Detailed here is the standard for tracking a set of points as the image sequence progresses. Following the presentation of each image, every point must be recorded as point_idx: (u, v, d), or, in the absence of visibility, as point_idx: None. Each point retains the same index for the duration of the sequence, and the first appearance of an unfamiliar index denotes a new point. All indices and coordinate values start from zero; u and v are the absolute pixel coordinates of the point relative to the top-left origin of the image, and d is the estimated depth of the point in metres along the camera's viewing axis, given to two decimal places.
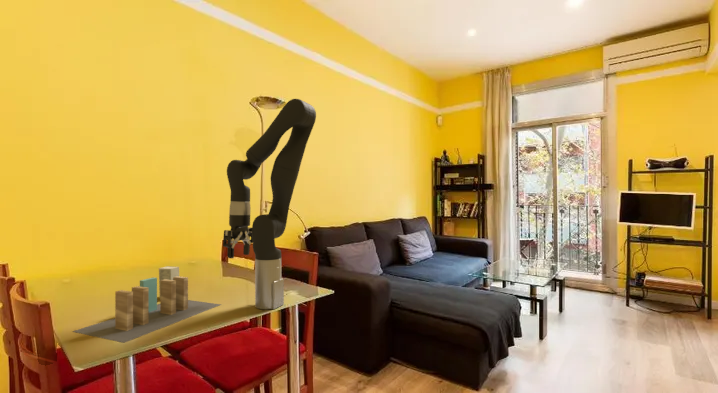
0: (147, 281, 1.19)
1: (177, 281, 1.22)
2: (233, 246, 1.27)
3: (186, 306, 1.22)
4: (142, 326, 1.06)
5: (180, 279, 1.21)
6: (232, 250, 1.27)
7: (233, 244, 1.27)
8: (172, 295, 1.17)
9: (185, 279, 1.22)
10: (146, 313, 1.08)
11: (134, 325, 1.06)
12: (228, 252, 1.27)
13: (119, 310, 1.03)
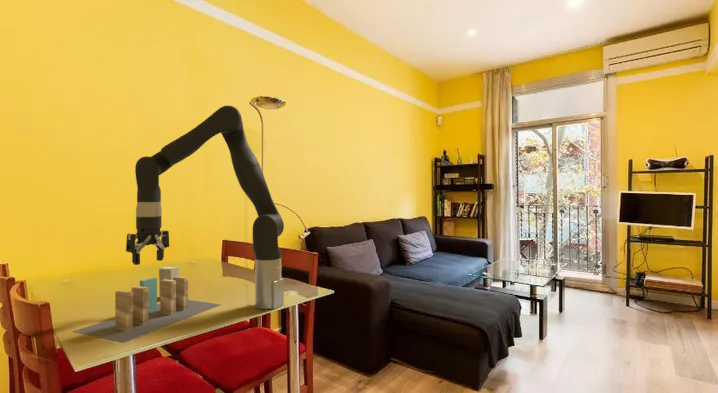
0: (147, 281, 1.19)
1: (177, 281, 1.22)
2: (138, 251, 1.15)
3: (186, 306, 1.22)
4: (142, 326, 1.06)
5: (180, 279, 1.21)
6: (137, 256, 1.15)
7: (138, 249, 1.16)
8: (172, 295, 1.17)
9: (185, 279, 1.22)
10: (146, 313, 1.08)
11: (134, 325, 1.06)
12: (133, 258, 1.15)
13: (119, 310, 1.03)
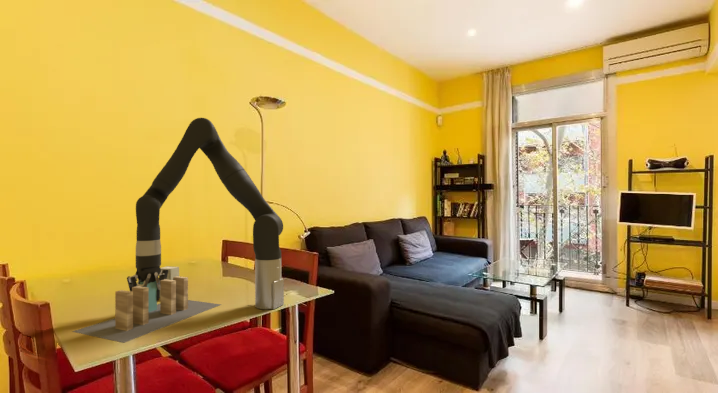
0: None
1: (177, 281, 1.22)
2: None
3: (186, 306, 1.22)
4: (142, 326, 1.06)
5: (180, 279, 1.21)
6: None
7: None
8: (172, 295, 1.17)
9: (185, 279, 1.22)
10: (146, 313, 1.08)
11: (134, 325, 1.06)
12: None
13: (119, 310, 1.03)
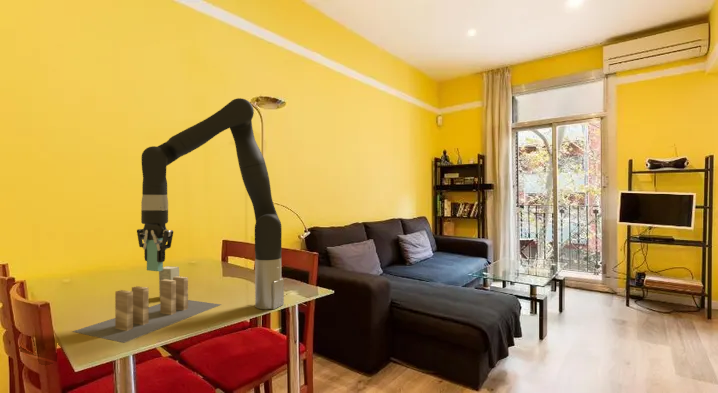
0: None
1: (177, 281, 1.22)
2: (144, 247, 1.13)
3: (186, 306, 1.22)
4: (142, 326, 1.06)
5: (180, 279, 1.21)
6: (145, 252, 1.14)
7: (144, 245, 1.13)
8: (172, 295, 1.17)
9: (185, 279, 1.22)
10: (146, 313, 1.08)
11: (134, 325, 1.06)
12: None
13: (119, 310, 1.03)
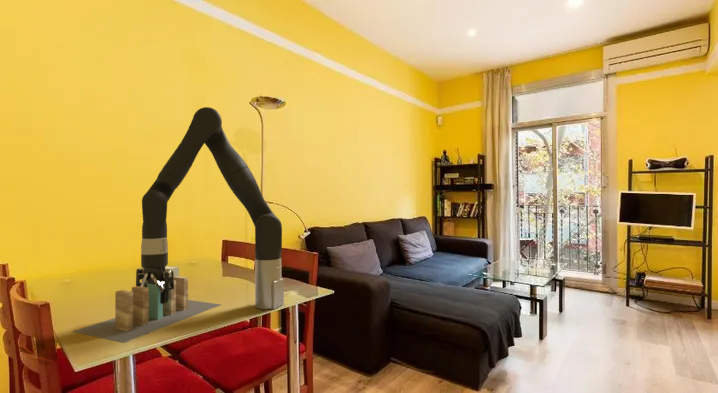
0: (149, 285, 1.13)
1: (177, 281, 1.22)
2: None
3: (186, 306, 1.22)
4: (142, 326, 1.06)
5: (180, 279, 1.21)
6: None
7: (141, 285, 1.14)
8: (172, 295, 1.17)
9: (185, 279, 1.22)
10: (146, 313, 1.08)
11: (134, 325, 1.06)
12: None
13: (119, 310, 1.03)
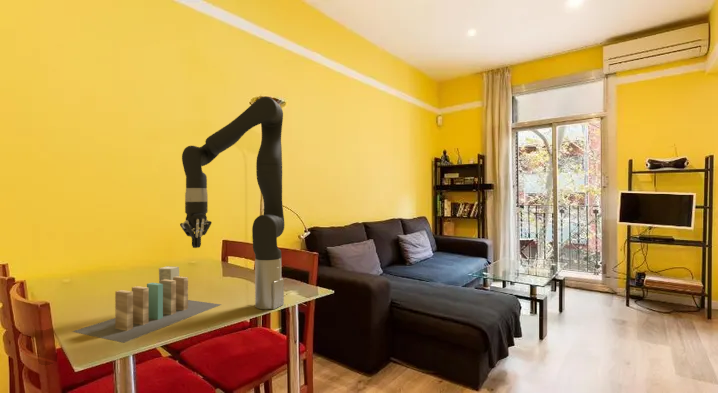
0: (149, 285, 1.13)
1: (177, 281, 1.22)
2: (197, 235, 1.28)
3: (186, 306, 1.22)
4: (142, 326, 1.06)
5: (180, 279, 1.21)
6: (196, 239, 1.28)
7: (196, 234, 1.28)
8: (172, 295, 1.17)
9: (185, 279, 1.22)
10: (146, 313, 1.08)
11: (134, 325, 1.06)
12: (192, 242, 1.28)
13: (119, 310, 1.03)
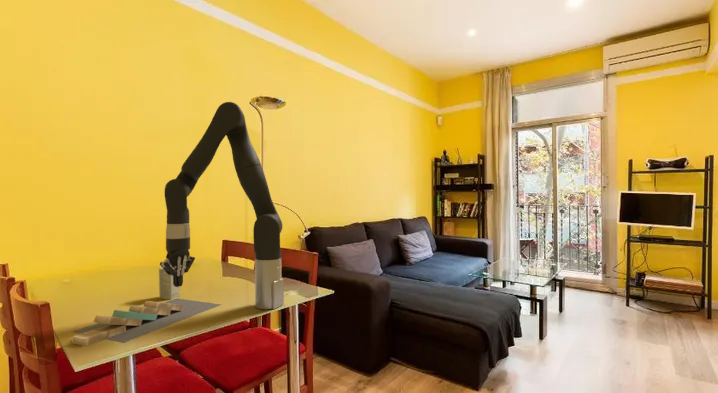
0: (116, 316, 1.03)
1: None
2: (179, 274, 1.20)
3: (180, 307, 1.20)
4: (142, 326, 1.06)
5: (152, 307, 1.12)
6: (178, 278, 1.21)
7: (178, 272, 1.20)
8: (153, 312, 1.10)
9: (157, 305, 1.11)
10: (132, 321, 1.04)
11: None
12: (174, 280, 1.20)
13: None
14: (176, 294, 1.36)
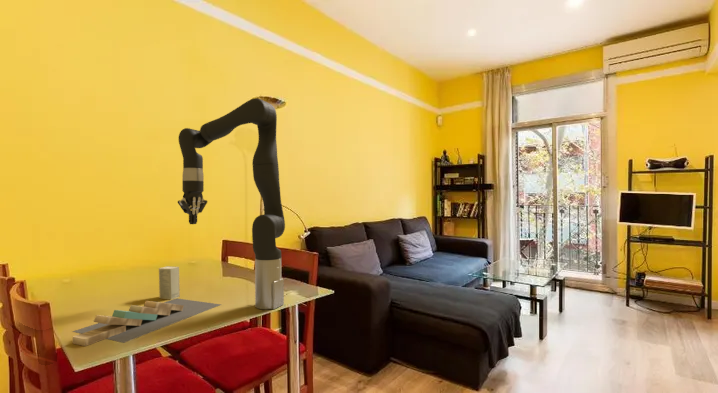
0: (116, 316, 1.03)
1: None
2: (194, 212, 1.36)
3: (180, 307, 1.20)
4: (142, 326, 1.06)
5: (152, 307, 1.12)
6: (193, 216, 1.37)
7: (193, 211, 1.36)
8: (153, 312, 1.10)
9: (157, 305, 1.11)
10: (132, 321, 1.04)
11: None
12: (189, 218, 1.36)
13: None
14: (176, 294, 1.36)
